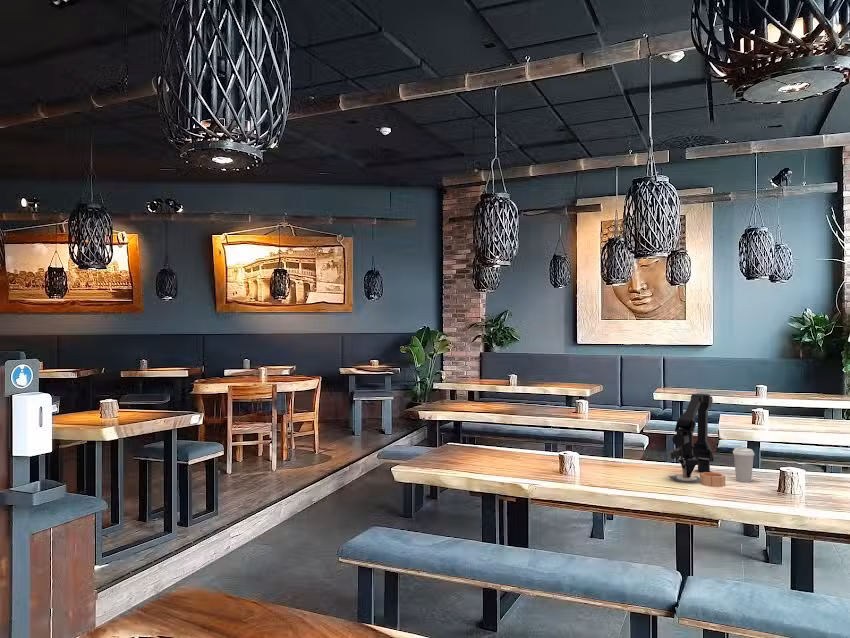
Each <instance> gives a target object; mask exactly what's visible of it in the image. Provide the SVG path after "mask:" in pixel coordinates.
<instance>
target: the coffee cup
mask: <svg viewBox="0 0 850 638" xmlns="http://www.w3.org/2000/svg"><path fill="white" fill-rule="evenodd" d="M732 454H733V459H734V460H733V461H734V470H735V472H734V473H735V480H736V481H737V482H740V483H752V480H753V479H752V478H753V468H754V467H753V465H754V456H755V452H754V450H753V449H752V448H745V447H735V448H734V449H733V450H732Z"/></svg>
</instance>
